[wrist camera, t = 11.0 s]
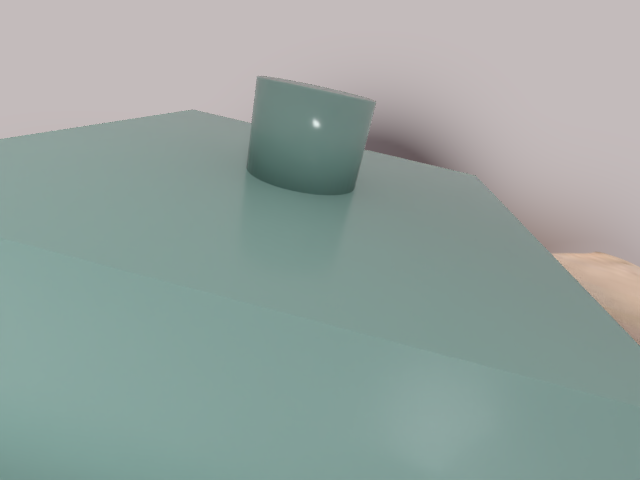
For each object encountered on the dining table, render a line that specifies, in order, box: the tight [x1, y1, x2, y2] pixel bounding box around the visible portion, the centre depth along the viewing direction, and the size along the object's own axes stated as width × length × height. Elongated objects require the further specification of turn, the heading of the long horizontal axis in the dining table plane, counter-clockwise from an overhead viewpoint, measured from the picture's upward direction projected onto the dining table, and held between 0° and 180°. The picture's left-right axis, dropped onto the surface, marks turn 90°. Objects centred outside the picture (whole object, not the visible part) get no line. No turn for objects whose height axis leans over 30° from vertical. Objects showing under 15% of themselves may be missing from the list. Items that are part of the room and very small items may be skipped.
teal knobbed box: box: [0, 76, 640, 480], centre depth 7 cm, size 7×7×11 cm
